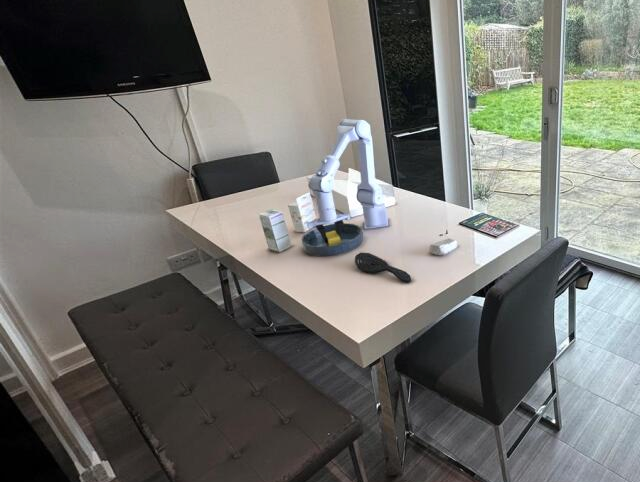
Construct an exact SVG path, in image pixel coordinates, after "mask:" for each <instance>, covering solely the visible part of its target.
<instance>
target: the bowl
mask: <svg viewBox="0 0 640 482" xmlns="http://www.w3.org/2000/svg"><path fill="white" fill-rule="evenodd" d="M323 226H324V228H325V231H326V233H327V232H331V231H336V227H335V223H330V224H326V225H323ZM336 233H337V232H336ZM340 241H341V244H337V245H332V246H328V245H327V244H326V243H325V240H324V238H323V236H322V235H321V233H320V232H319V231H318V230H317V228H316V227H315V228H312V229H310V230H308V231H306V232H305V234H303V236H302V237H301V244H302V249H303V251H304V252H305V253H306V254H308V255H310V256H315V257H333V256H339V255H342V254H345V253H348V252H351V251H353V250H355V249H357V248H358V247H359V246H360V245H362V243H363V241H364V232H363V229H362V227H361V226H360V225H358V224H354V223H349V222H344V226H343V228H342V232H341V240H340Z"/></svg>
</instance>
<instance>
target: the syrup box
mask: <svg viewBox="0 0 640 482" xmlns="http://www.w3.org/2000/svg"><path fill="white" fill-rule="evenodd" d="M258 217H259V220H260V224H261V227H262V229H263V230H262V231H263V233H264V238H265V241H266V243H267V247H268V250H269V251H273V252H277V253H281V252H284V251H285V250H287V249H290V248H291V247H292V242H291V238H290V234H289V230H288V227H287V223H286V218H285V216H284V211H282V210H278V209H269V210H265V211H263V212H261V213H259V214H258Z"/></svg>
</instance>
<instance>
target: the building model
mask: <svg viewBox="0 0 640 482" xmlns="http://www.w3.org/2000/svg"><path fill="white" fill-rule="evenodd" d="M347 175H348V177H347V178H346V179H336V178H334V187H333V189H332V190H331V191H332V196H333V201H334V206H335V210H337V211H339V212H340V213H341V214H349V215H350V218H354V217H358V216H361V215H364V214H363V208H362V205H361V203H360V202H358V201H357V198H356V194H357V186H358V185H359V184H360V183H361V174H360V171H358V170H356V169H353V168H350V167H348V174H347ZM311 177H312V176H306V181H307V185H308V184H309V181H310V178H311ZM375 182H376V183H377V184H378V185H380V186H381V190H382V193H383V196H384V199H383V202H382V203H385V206H386V208H388V207H392V206H394V205H396V199H395V197H396V196H395V191H394V185H392V184H390V183H388V182H385V181H383V180H381V179H378V178H376V177H375ZM308 189H309V193H310V196H312V197H314V198H315V195H314V194H313V191H312V190H311V189H310V188H309V187H308Z"/></svg>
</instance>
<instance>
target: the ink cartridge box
mask: <svg viewBox="0 0 640 482" xmlns="http://www.w3.org/2000/svg"><path fill="white" fill-rule="evenodd" d="M287 207H288V211H289V215H290V218H291V222H292V226H293V229H294V232H295V233H307V232H309V231H310V229H308V226H307V222H310V221H313V220H316V219H317V216H316V215H317V214H316V211H315V207H314V202H313V198H312V195H311V194H310V191H308V192H306V193H304V194H302V195H300V196H298V197H296V198H295V201H294V202H292V203H290V204H288V205H287ZM311 229H314V227H312V228H311Z"/></svg>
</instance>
